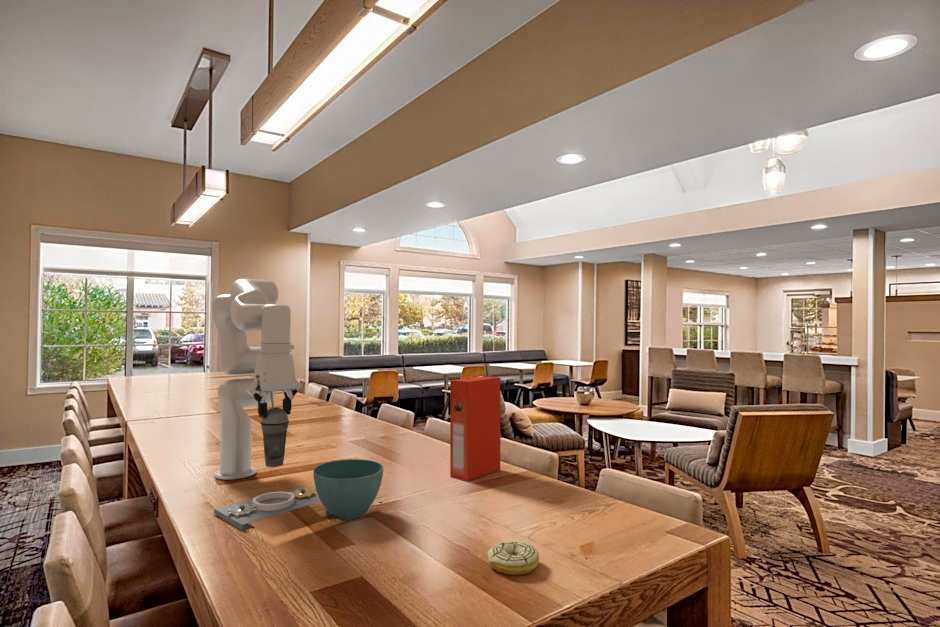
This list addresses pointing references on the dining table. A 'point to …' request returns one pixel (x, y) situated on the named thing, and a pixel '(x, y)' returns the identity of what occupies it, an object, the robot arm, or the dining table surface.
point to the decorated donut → (513, 558)
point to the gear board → (262, 514)
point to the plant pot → (348, 486)
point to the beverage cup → (274, 435)
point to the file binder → (474, 427)
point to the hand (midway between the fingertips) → (274, 414)
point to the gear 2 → (303, 494)
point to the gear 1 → (241, 511)
